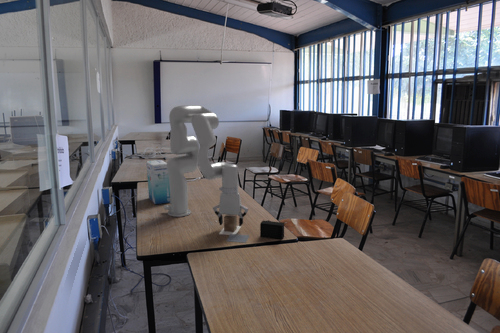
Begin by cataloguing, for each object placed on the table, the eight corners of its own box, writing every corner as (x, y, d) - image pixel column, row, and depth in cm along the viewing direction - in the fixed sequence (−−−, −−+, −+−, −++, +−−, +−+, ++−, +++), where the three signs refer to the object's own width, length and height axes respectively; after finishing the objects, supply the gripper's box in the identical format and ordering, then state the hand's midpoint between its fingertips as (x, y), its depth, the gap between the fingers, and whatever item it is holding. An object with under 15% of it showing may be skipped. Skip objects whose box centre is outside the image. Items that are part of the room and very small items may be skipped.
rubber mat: (225, 241, 167) (225, 241, 167) (230, 234, 176) (230, 233, 176) (245, 243, 166) (245, 242, 166) (249, 235, 174) (249, 235, 174)
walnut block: (224, 231, 180) (223, 217, 178) (226, 227, 184) (226, 213, 183) (234, 231, 179) (234, 217, 177) (236, 228, 184) (236, 214, 182)
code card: (218, 234, 176) (218, 233, 176) (225, 225, 189) (225, 224, 189) (235, 235, 175) (235, 235, 175) (241, 226, 187) (241, 225, 187)
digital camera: (284, 236, 174) (285, 221, 173) (282, 240, 169) (282, 225, 168) (263, 233, 178) (263, 219, 176) (260, 237, 173) (260, 223, 171)
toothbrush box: (148, 198, 239) (146, 160, 234) (164, 196, 243) (162, 159, 239) (154, 205, 223) (152, 165, 219) (171, 203, 228) (170, 163, 223)
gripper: (210, 191, 176) (211, 226, 179) (246, 192, 173) (246, 228, 176) (214, 187, 183) (215, 221, 186) (249, 189, 180) (250, 223, 183)
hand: (230, 224), depth 181 cm, fingers open, 9 cm apart
